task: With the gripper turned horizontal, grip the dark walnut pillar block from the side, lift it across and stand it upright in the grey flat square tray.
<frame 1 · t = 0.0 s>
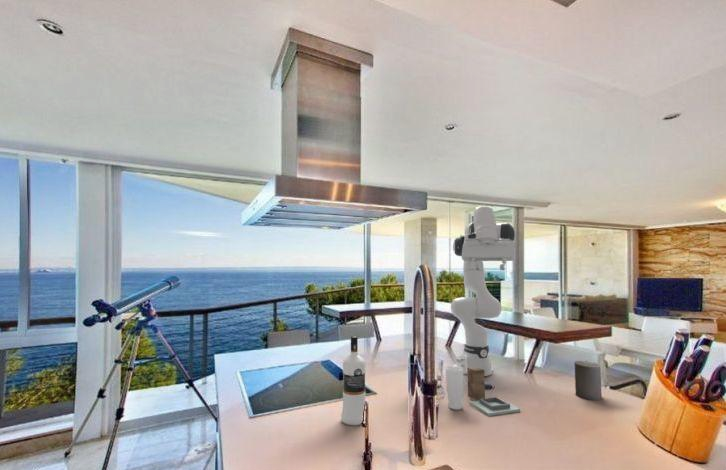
hand: (489, 269, 140), 54 cm above the kitchen island, tool tilted 30°, fingers open, 8 cm apart
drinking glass: (455, 408, 143), on the kitchen island
grey flat square tray: (494, 407, 143), on the kitchen island
vodka: (354, 421, 131), on the kitchen island
pillar candle: (588, 396, 156), on the kitchen island
walnut pillar: (476, 397, 154), on the kitchen island
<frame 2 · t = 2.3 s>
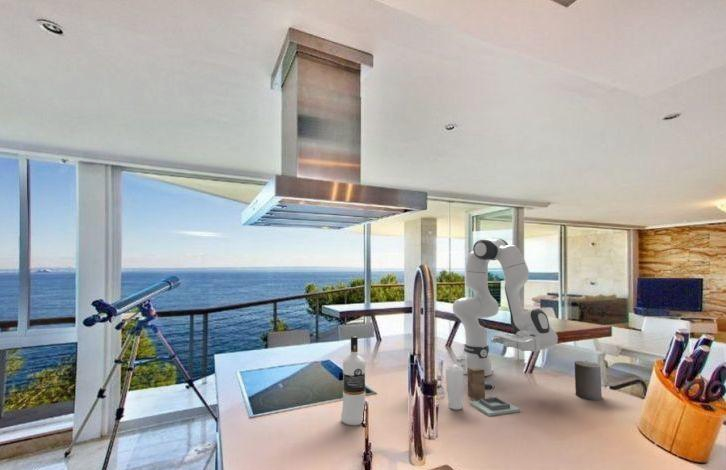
hand: (498, 342, 160), 22 cm above the kitchen island, tool horizontal, fingers open, 8 cm apart
nothing on the kitchen island moved.
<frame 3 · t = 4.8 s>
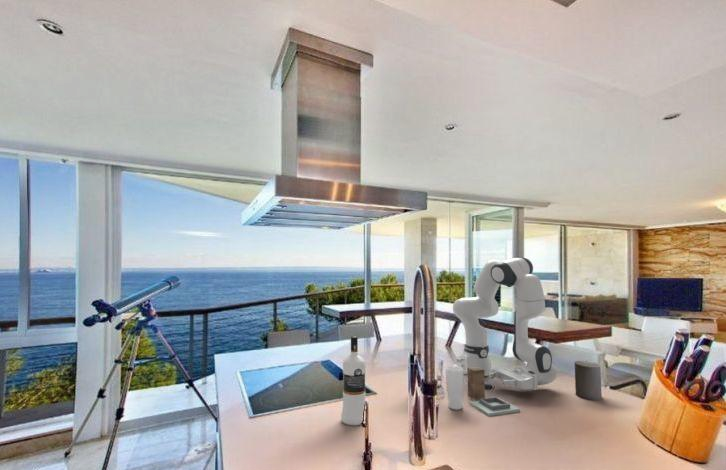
hand: (496, 379, 158), 7 cm above the kitchen island, tool horizontal, fingers open, 8 cm apart
nothing on the kitchen island moved.
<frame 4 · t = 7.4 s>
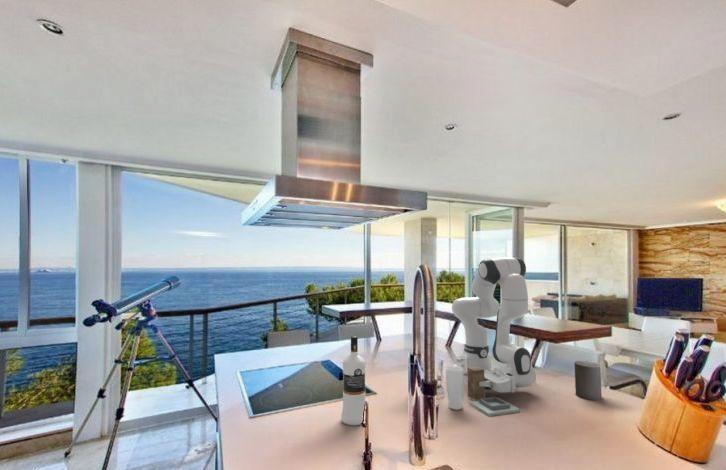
hand: (474, 381, 155), 7 cm above the kitchen island, tool horizontal, fingers closed on walnut pillar, 5 cm apart
walnut pillar: (476, 397, 154), on the kitchen island, touching gripper
everything else where it was.
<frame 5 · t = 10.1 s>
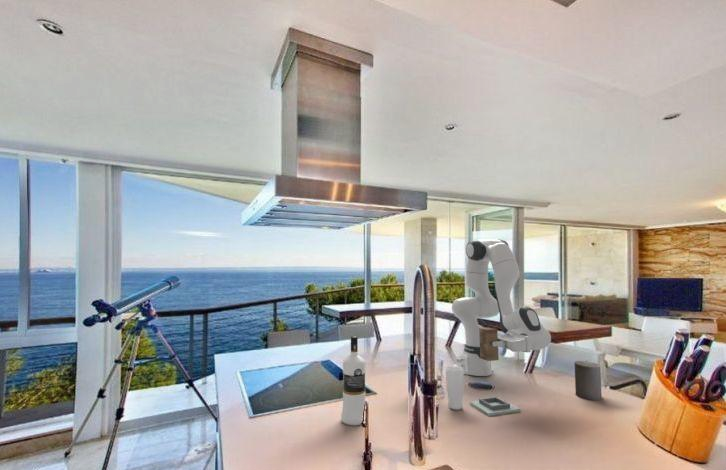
hand: (486, 342, 147), 25 cm above the kitchen island, tool horizontal, fingers closed on walnut pillar, 5 cm apart
walnut pillar: (489, 359, 147), point 18 cm above the kitchen island, touching gripper
everything else where it was.
when the fingers open (9 cm above the kitchen island, at t = 12.8 s): walnut pillar drops 1 cm, resting on grey flat square tray.
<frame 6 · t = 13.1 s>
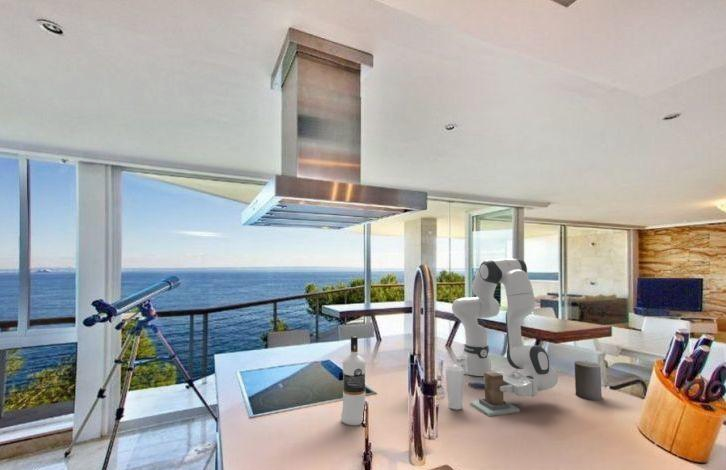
hand: (491, 384, 143), 9 cm above the kitchen island, tool horizontal, fingers open, 8 cm apart
walnut pillar: (494, 405, 143), point 1 cm above the kitchen island, touching grey flat square tray
everything else where it was.
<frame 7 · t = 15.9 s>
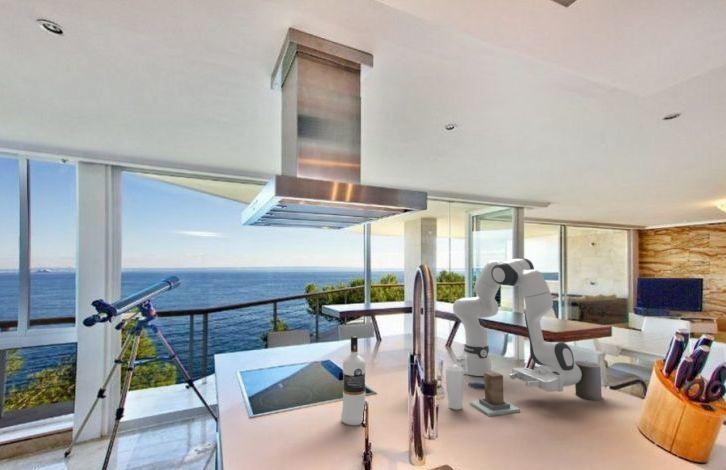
hand: (518, 380, 148), 9 cm above the kitchen island, tool horizontal, fingers open, 8 cm apart
nothing on the kitchen island moved.
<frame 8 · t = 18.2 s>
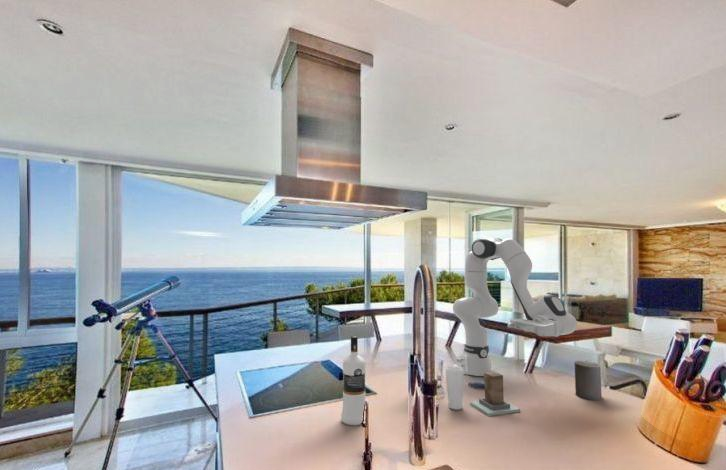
hand: (516, 327, 152), 30 cm above the kitchen island, tool horizontal, fingers open, 8 cm apart
nothing on the kitchen island moved.
at the end: walnut pillar 0.0 cm off-centre on the grey flat square tray, point 1.0 cm above the grey flat square tray's base; walnut pillar tilted 0°; the gripper is holding nothing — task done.
